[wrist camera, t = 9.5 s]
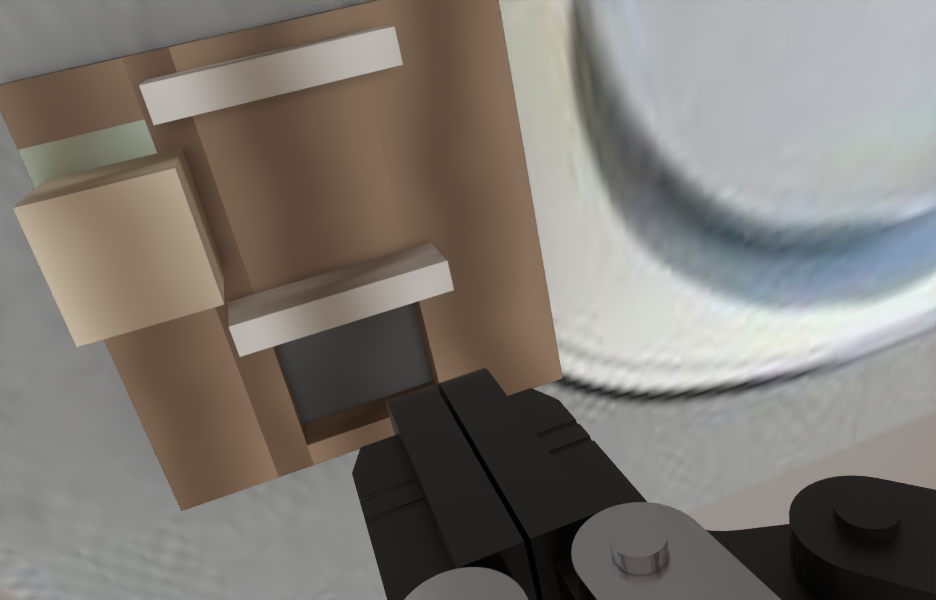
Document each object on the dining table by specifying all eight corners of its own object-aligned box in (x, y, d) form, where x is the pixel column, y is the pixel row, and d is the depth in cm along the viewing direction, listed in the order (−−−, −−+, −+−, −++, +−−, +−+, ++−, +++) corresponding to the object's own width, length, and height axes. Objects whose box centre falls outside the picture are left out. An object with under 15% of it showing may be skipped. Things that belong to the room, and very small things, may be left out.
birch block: (181, 147, 25) (175, 168, 22) (223, 267, 27) (224, 304, 24) (43, 180, 24) (12, 208, 21) (96, 302, 26) (77, 347, 23)
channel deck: (476, -23, 28) (519, -30, 24) (545, 360, 35) (587, 403, 31) (6, 82, 25) (-36, 94, 21) (183, 483, 32) (178, 550, 28)
